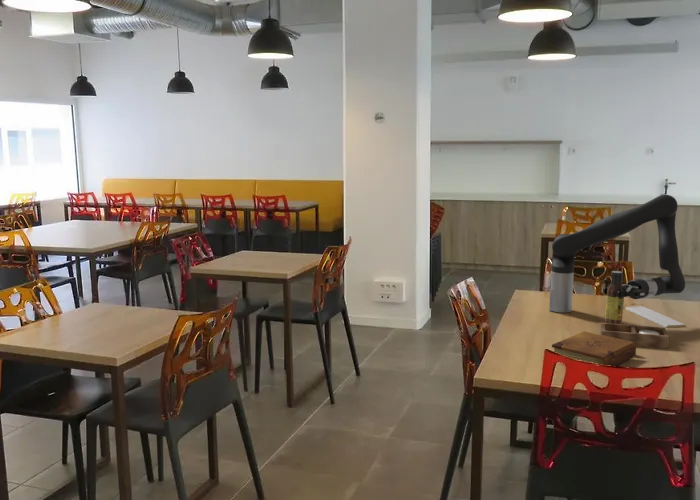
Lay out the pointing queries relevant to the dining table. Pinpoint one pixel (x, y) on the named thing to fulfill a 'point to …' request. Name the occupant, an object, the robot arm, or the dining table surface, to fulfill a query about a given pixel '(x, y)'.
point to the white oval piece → (648, 332)
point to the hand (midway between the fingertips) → (610, 292)
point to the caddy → (636, 334)
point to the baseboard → (655, 316)
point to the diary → (596, 348)
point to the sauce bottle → (614, 299)
